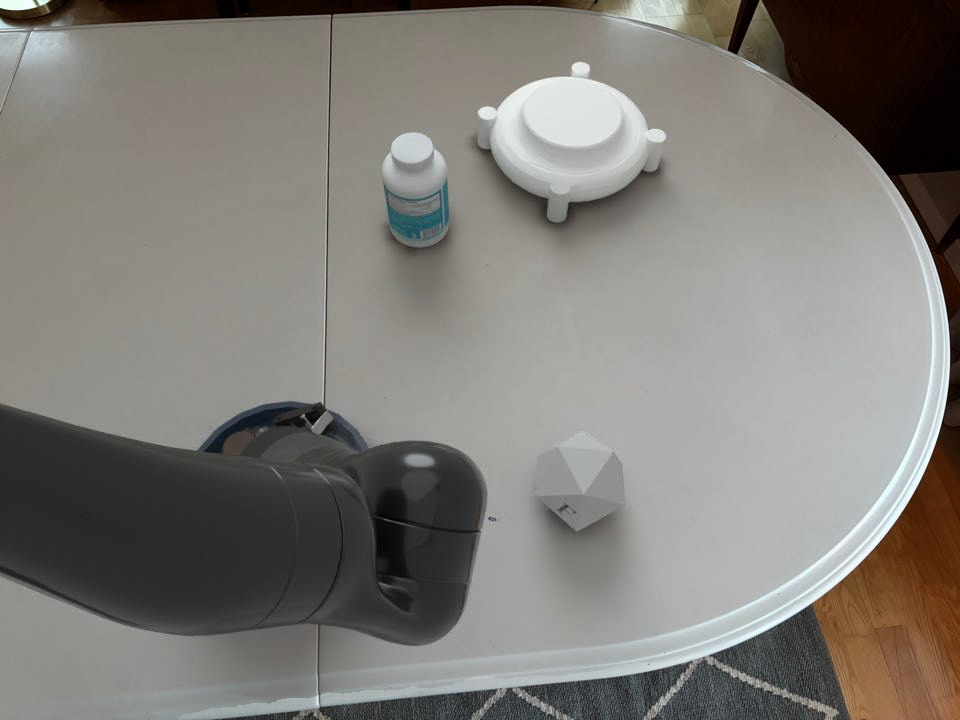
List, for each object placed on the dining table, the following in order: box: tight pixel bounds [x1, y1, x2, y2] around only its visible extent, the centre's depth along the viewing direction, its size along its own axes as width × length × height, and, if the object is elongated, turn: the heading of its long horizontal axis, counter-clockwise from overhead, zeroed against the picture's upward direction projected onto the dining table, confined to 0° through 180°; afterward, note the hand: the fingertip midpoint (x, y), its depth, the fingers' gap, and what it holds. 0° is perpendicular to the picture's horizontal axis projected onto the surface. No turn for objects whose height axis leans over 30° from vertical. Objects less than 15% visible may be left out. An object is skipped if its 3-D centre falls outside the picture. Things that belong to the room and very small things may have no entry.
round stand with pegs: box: [477, 61, 667, 224], centre depth 102 cm, size 24×24×7 cm
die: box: [534, 430, 626, 532], centre depth 77 cm, size 8×9×10 cm
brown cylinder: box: [223, 432, 254, 455], centre depth 71 cm, size 3×3×10 cm
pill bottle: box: [381, 132, 450, 249], centre depth 92 cm, size 8×7×14 cm
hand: (235, 451), depth 70 cm, fingers closed on brown cylinder, 3 cm apart
